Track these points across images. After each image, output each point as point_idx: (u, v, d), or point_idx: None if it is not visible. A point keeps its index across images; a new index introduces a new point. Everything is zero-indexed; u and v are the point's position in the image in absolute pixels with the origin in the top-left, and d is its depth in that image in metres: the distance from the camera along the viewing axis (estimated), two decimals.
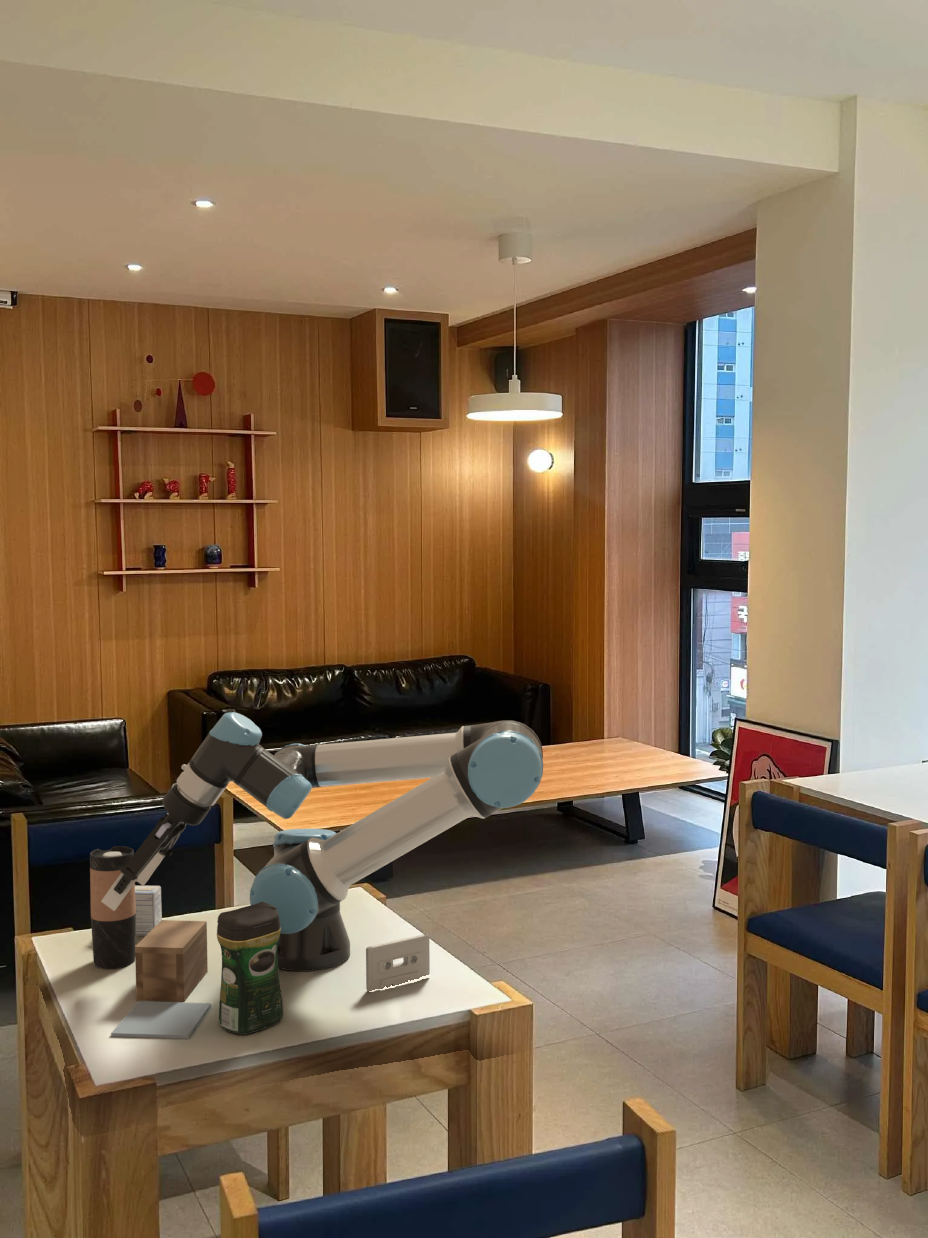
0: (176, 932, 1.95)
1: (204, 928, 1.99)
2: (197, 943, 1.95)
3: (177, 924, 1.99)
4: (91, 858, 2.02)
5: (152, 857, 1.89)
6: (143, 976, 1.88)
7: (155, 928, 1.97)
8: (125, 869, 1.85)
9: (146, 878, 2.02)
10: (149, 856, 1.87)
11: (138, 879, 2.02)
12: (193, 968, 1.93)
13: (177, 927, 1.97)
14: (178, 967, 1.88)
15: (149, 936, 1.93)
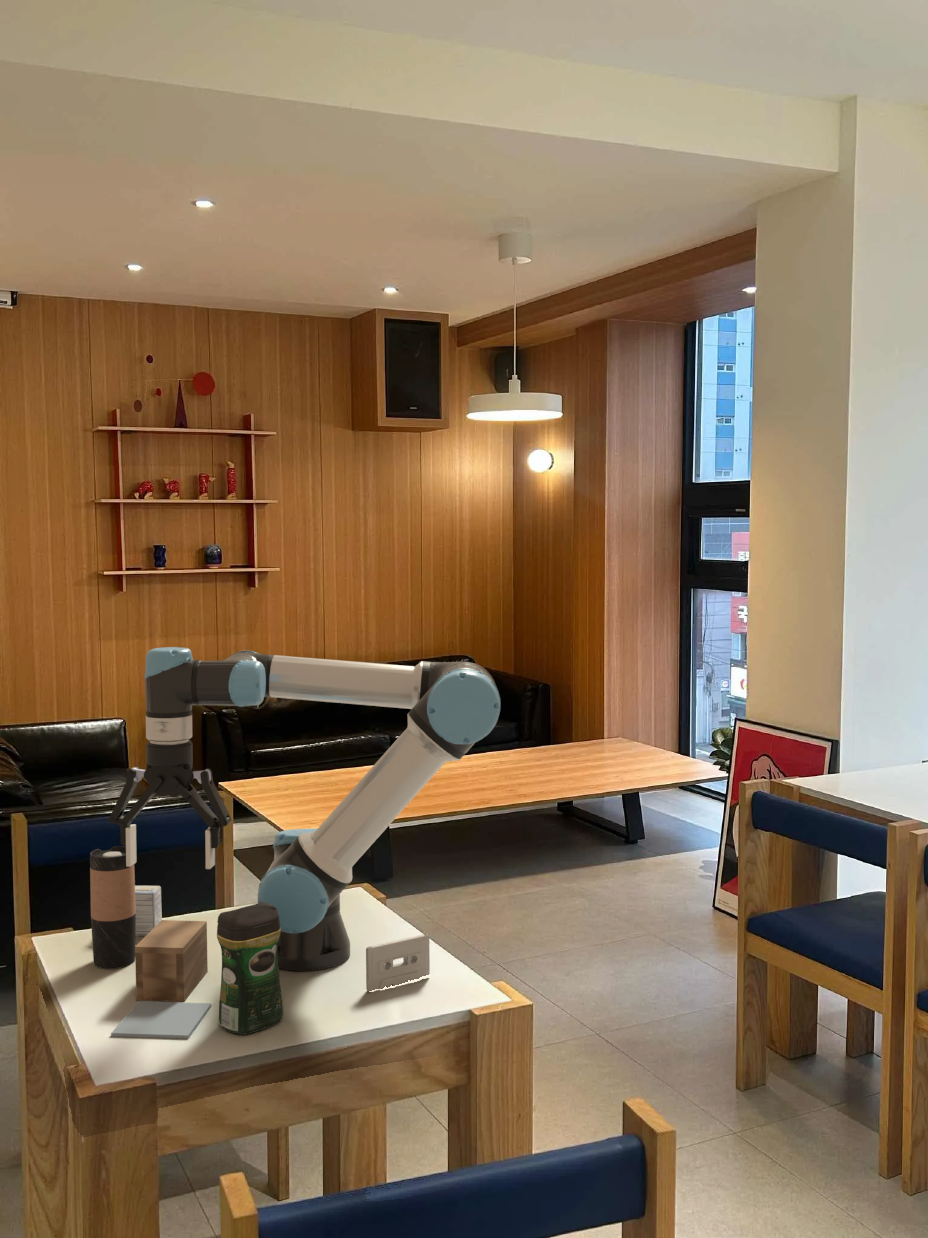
0: (176, 932, 1.95)
1: (204, 928, 1.99)
2: (197, 943, 1.95)
3: (177, 924, 1.99)
4: (91, 858, 2.02)
5: None
6: (143, 976, 1.88)
7: (155, 928, 1.97)
8: (227, 820, 1.91)
9: (135, 854, 1.95)
10: (220, 797, 1.93)
11: (133, 861, 1.94)
12: (193, 968, 1.93)
13: (177, 927, 1.97)
14: (178, 967, 1.88)
15: (149, 936, 1.93)
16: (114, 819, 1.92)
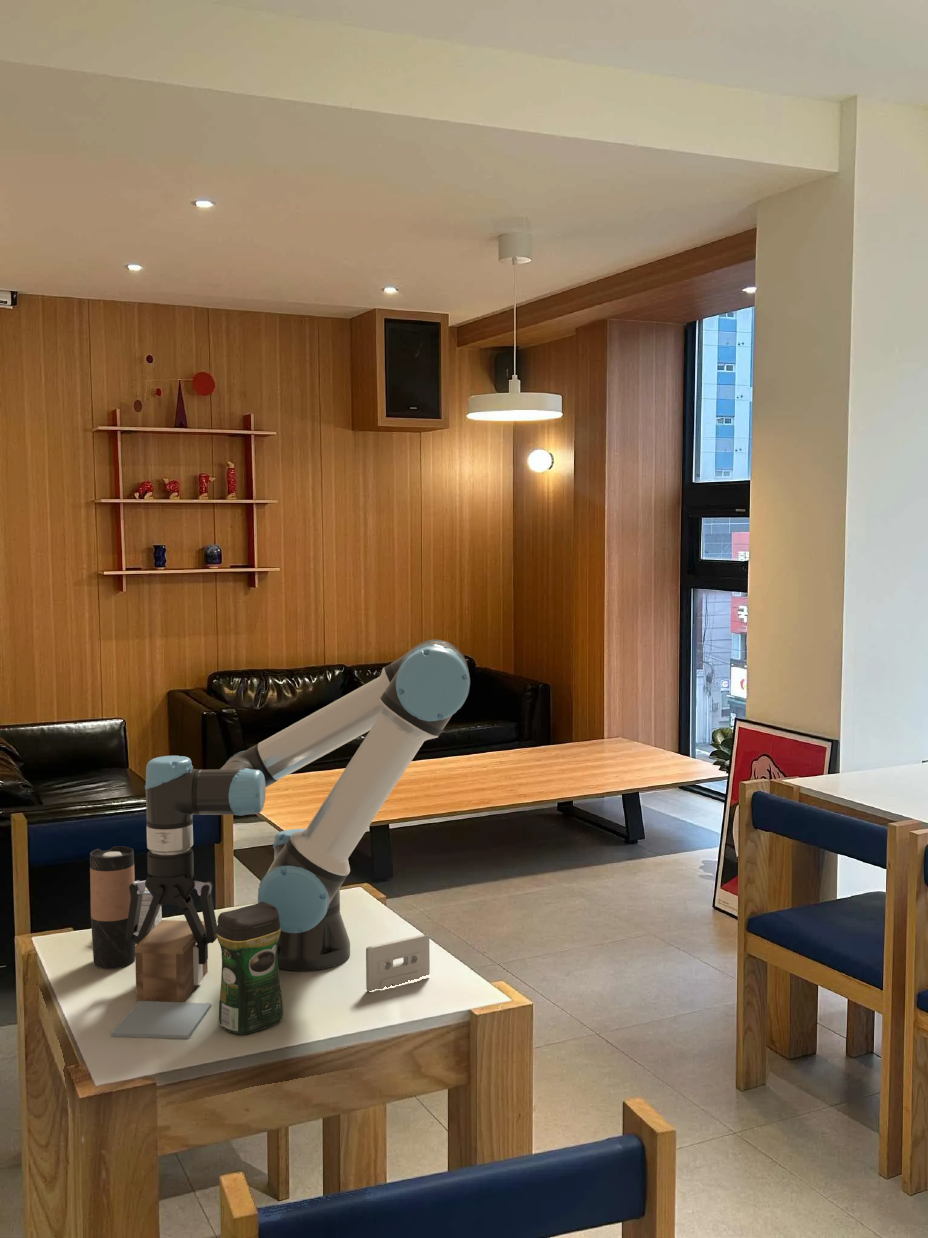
0: (176, 932, 1.95)
1: (204, 928, 1.99)
2: None
3: (177, 924, 1.99)
4: (91, 858, 2.02)
5: None
6: (143, 976, 1.88)
7: (155, 928, 1.97)
8: (215, 937, 1.93)
9: None
10: (214, 912, 1.95)
11: None
12: None
13: (177, 927, 1.97)
14: (178, 967, 1.88)
15: (149, 936, 1.93)
16: (130, 936, 1.94)
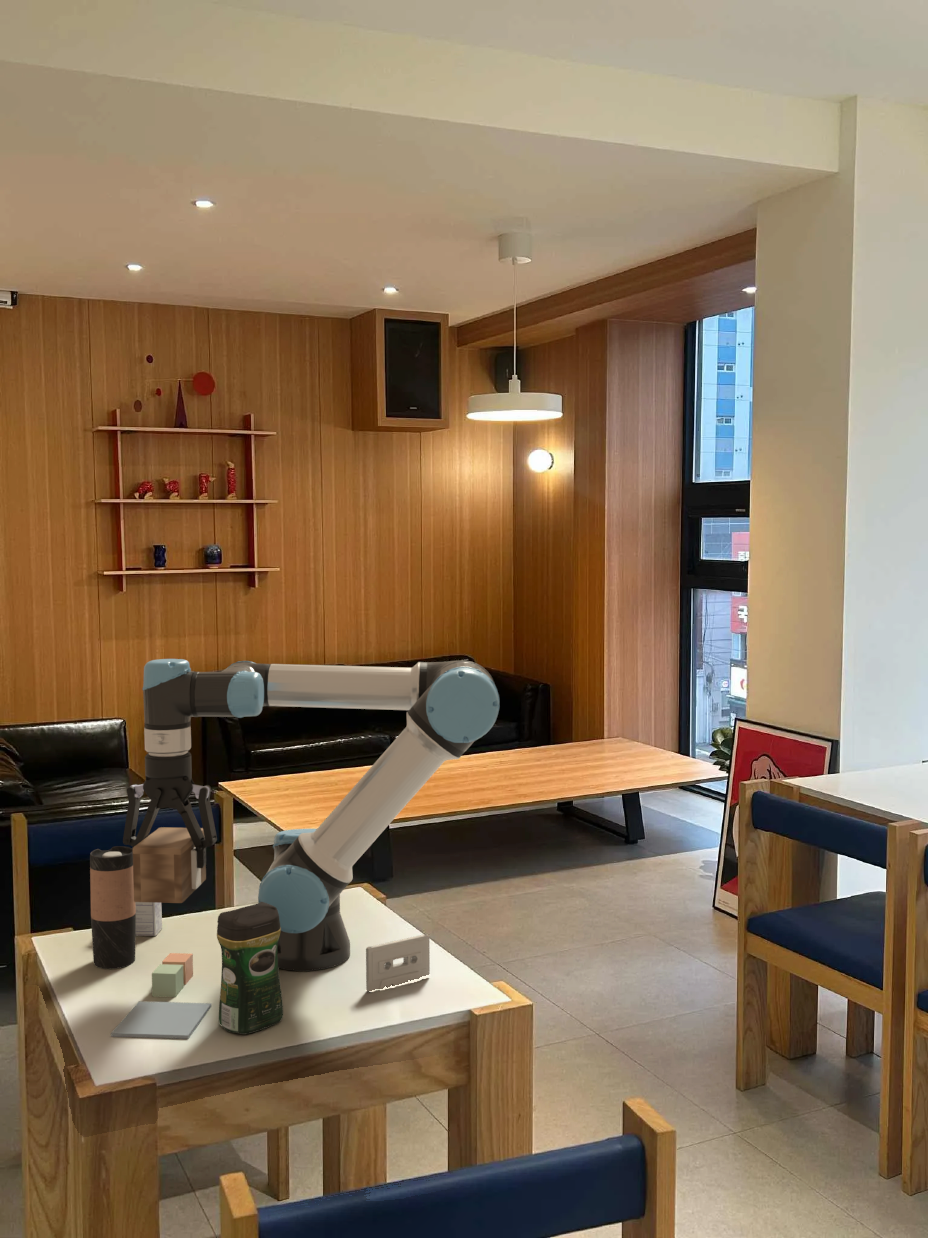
0: (175, 836, 1.94)
1: None
2: None
3: (175, 830, 1.98)
4: (91, 858, 2.02)
5: (196, 820, 1.94)
6: (141, 877, 1.87)
7: (153, 833, 1.96)
8: (213, 841, 1.92)
9: None
10: (212, 816, 1.93)
11: None
12: (191, 872, 1.92)
13: (175, 832, 1.96)
14: (176, 868, 1.87)
15: (147, 840, 1.92)
16: (128, 840, 1.92)
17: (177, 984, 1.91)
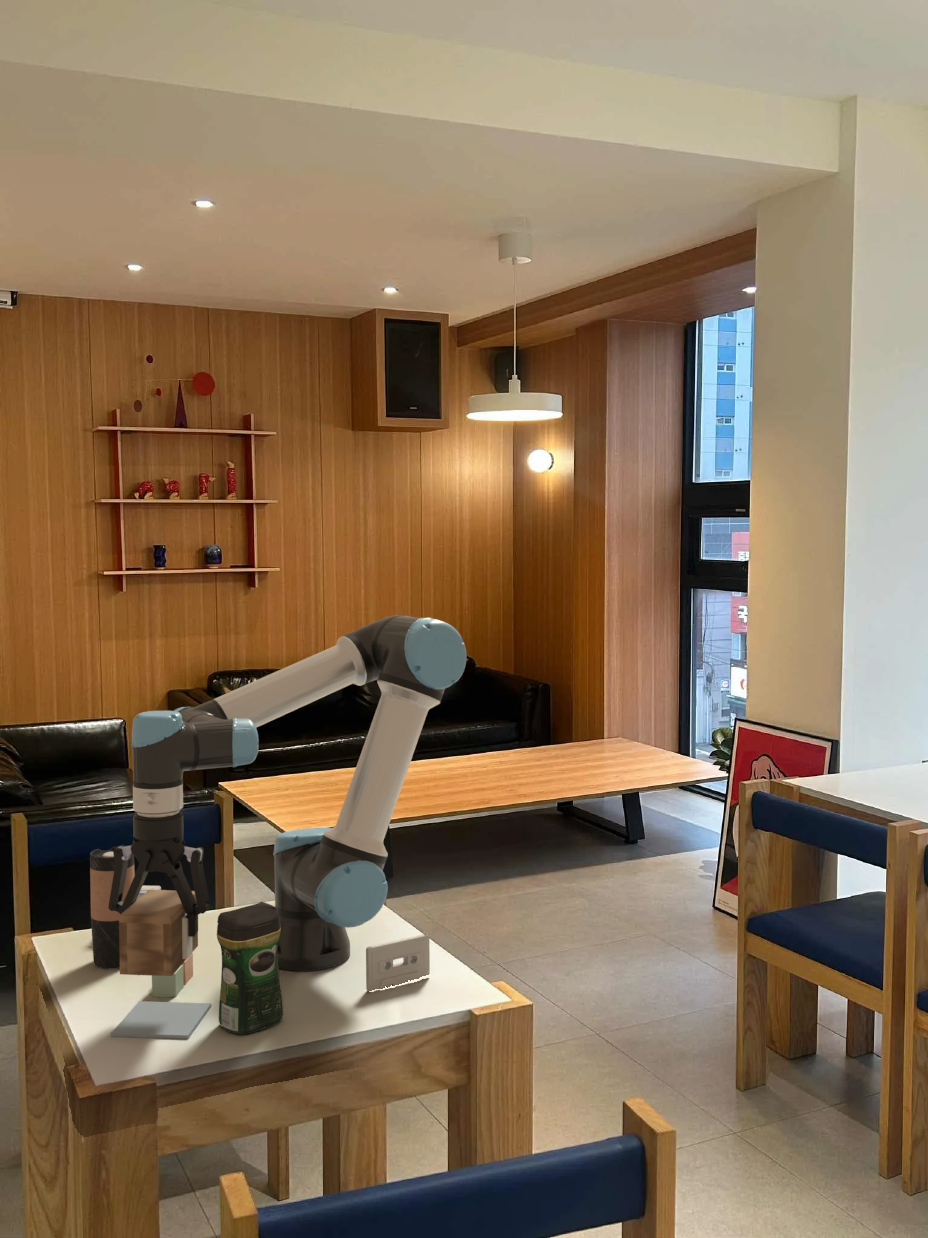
0: (164, 901, 1.80)
1: None
2: None
3: (165, 894, 1.84)
4: (91, 858, 2.02)
5: (188, 884, 1.80)
6: (127, 948, 1.73)
7: (141, 897, 1.82)
8: (206, 907, 1.78)
9: None
10: (205, 880, 1.80)
11: None
12: None
13: (165, 897, 1.82)
14: (165, 938, 1.73)
15: (135, 906, 1.78)
16: (114, 906, 1.79)
17: (177, 984, 1.91)
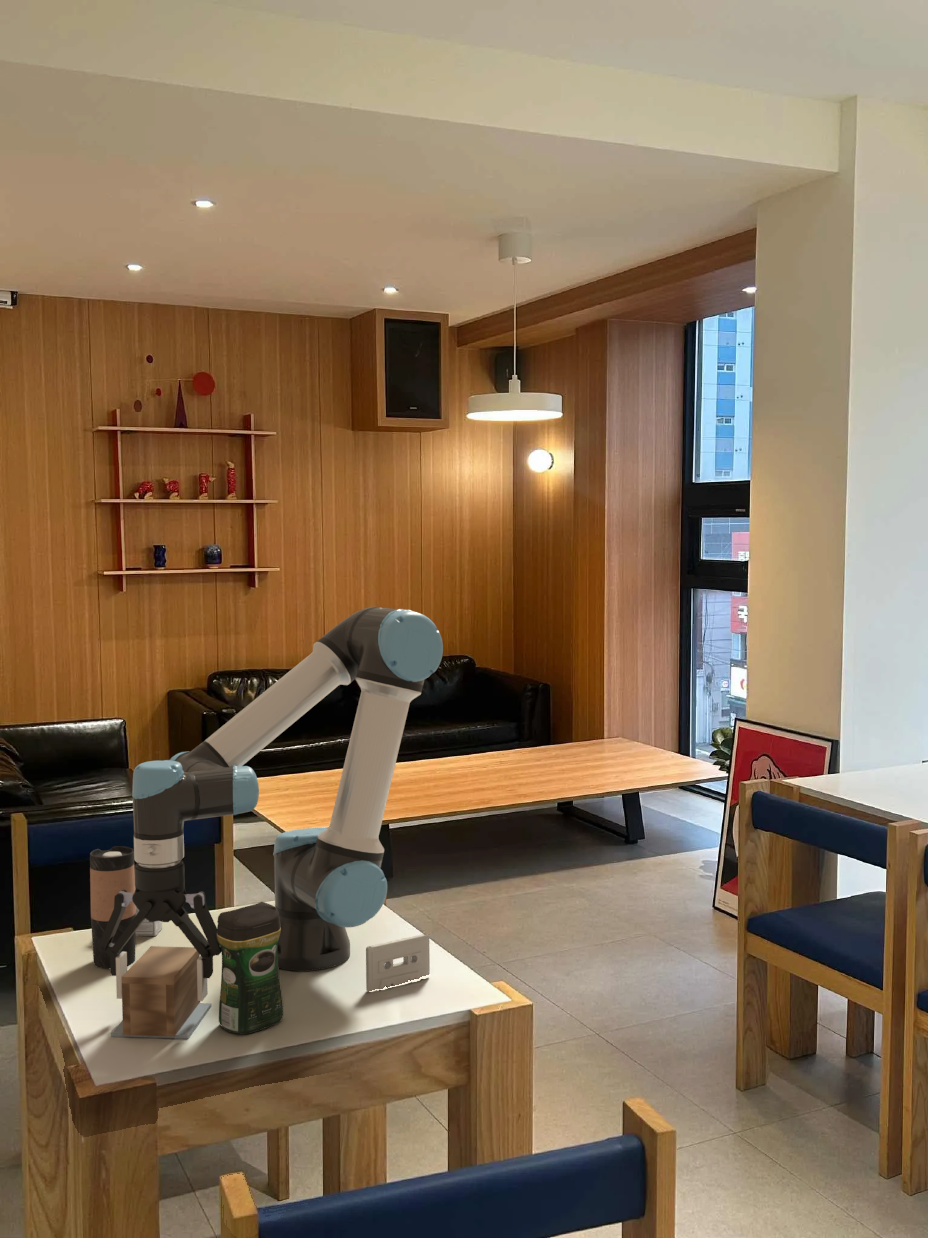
0: (167, 960, 1.81)
1: (196, 956, 1.85)
2: (189, 972, 1.81)
3: (167, 951, 1.85)
4: (91, 858, 2.02)
5: (197, 928, 1.80)
6: (130, 1009, 1.74)
7: (144, 955, 1.83)
8: (220, 948, 1.78)
9: None
10: (213, 922, 1.80)
11: None
12: (184, 1000, 1.79)
13: (168, 954, 1.83)
14: (168, 999, 1.74)
15: (137, 965, 1.79)
16: (103, 948, 1.79)
17: None
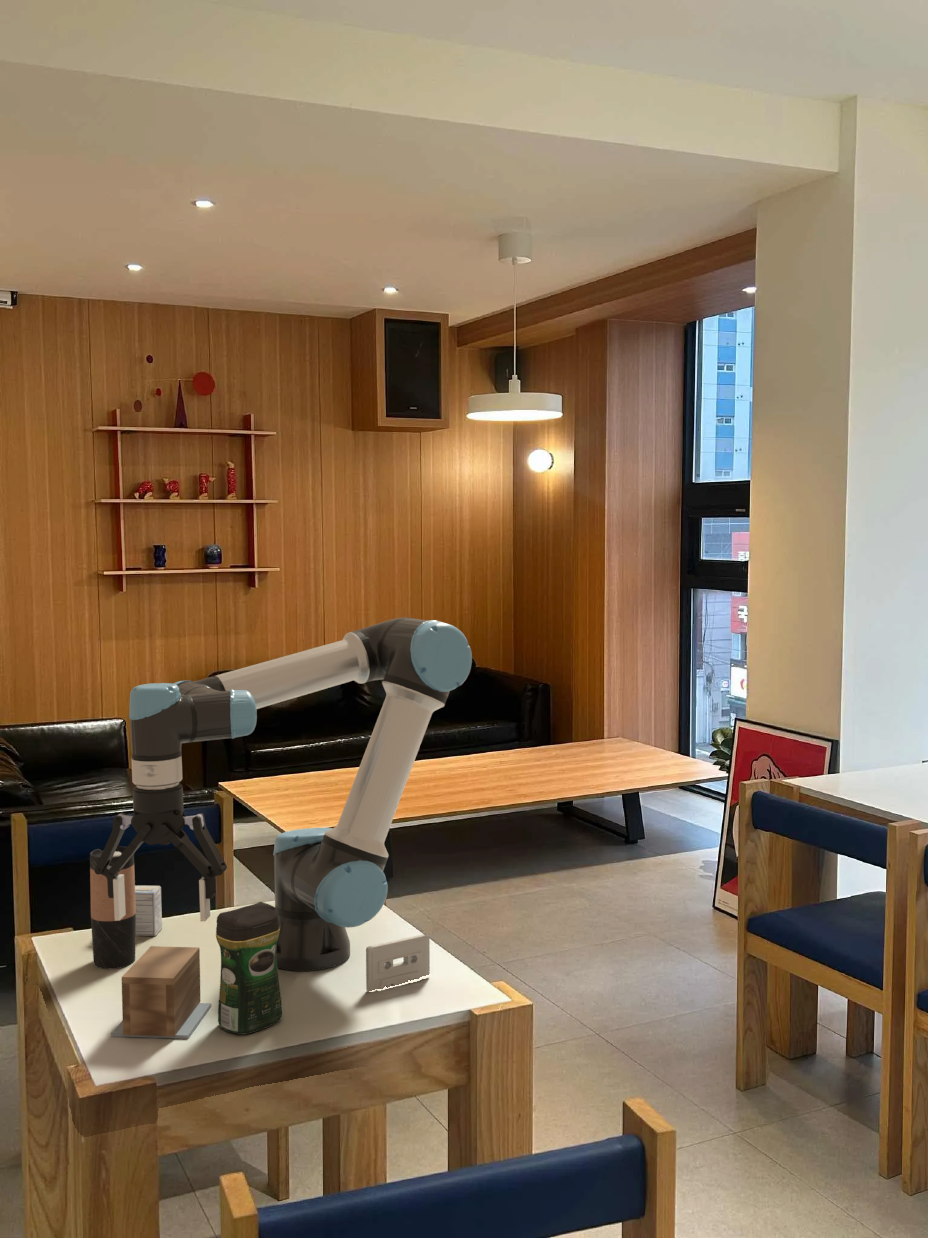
0: (167, 960, 1.81)
1: (196, 956, 1.85)
2: (189, 972, 1.81)
3: (167, 951, 1.85)
4: (91, 858, 2.02)
5: (197, 849, 1.80)
6: (130, 1009, 1.74)
7: (144, 955, 1.83)
8: (222, 868, 1.78)
9: (124, 906, 1.81)
10: (214, 843, 1.79)
11: (122, 914, 1.80)
12: (184, 1000, 1.79)
13: (168, 954, 1.83)
14: (168, 999, 1.74)
15: (137, 965, 1.79)
16: (100, 870, 1.79)
17: None
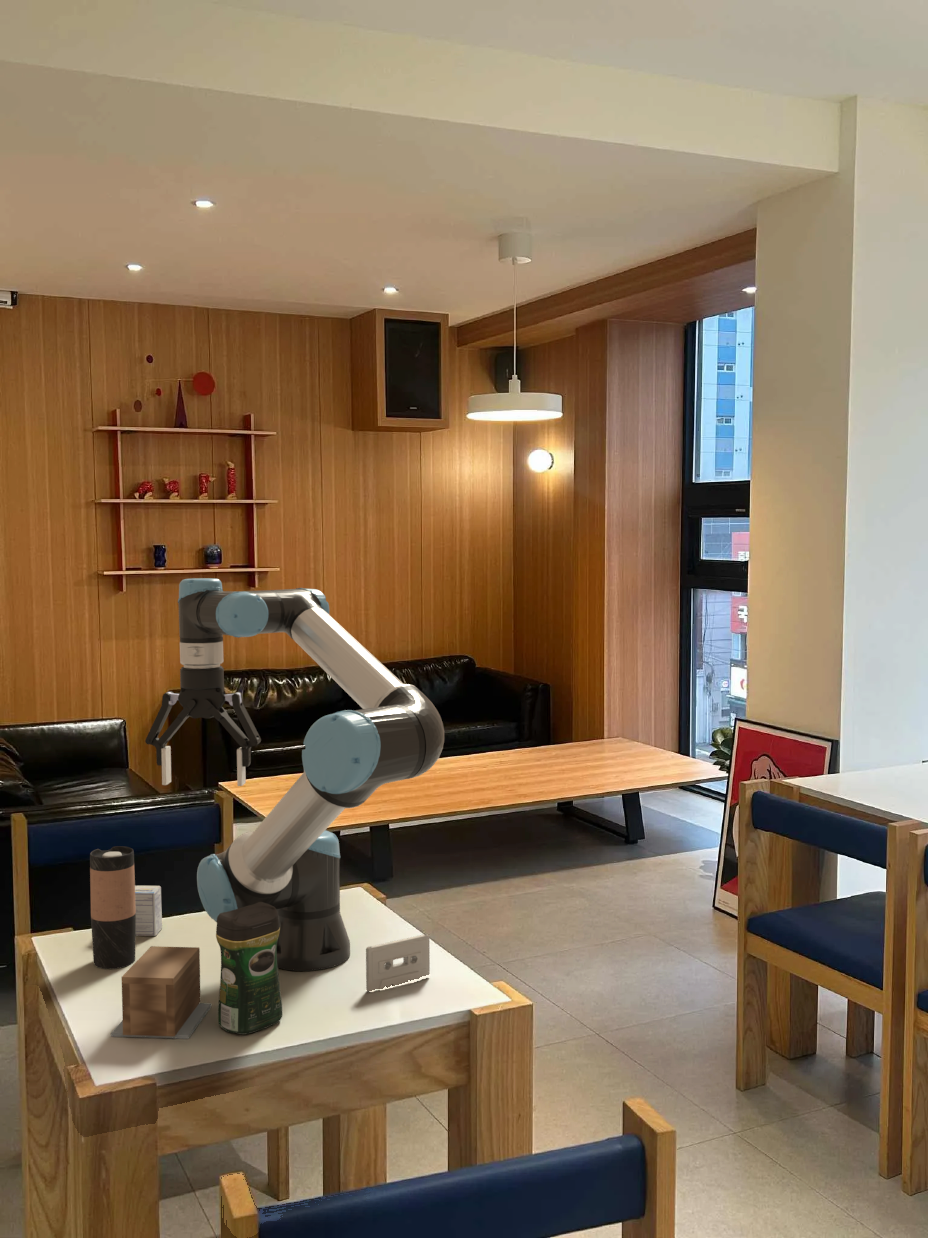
0: (167, 960, 1.81)
1: (196, 956, 1.85)
2: (189, 972, 1.81)
3: (167, 951, 1.85)
4: (91, 858, 2.02)
5: (235, 724, 2.05)
6: (130, 1009, 1.74)
7: (144, 955, 1.83)
8: (257, 739, 2.03)
9: (170, 774, 2.07)
10: (250, 719, 2.05)
11: (168, 780, 2.06)
12: (184, 1000, 1.79)
13: (168, 954, 1.83)
14: (168, 999, 1.74)
15: (137, 965, 1.79)
16: (150, 740, 2.04)
17: None
